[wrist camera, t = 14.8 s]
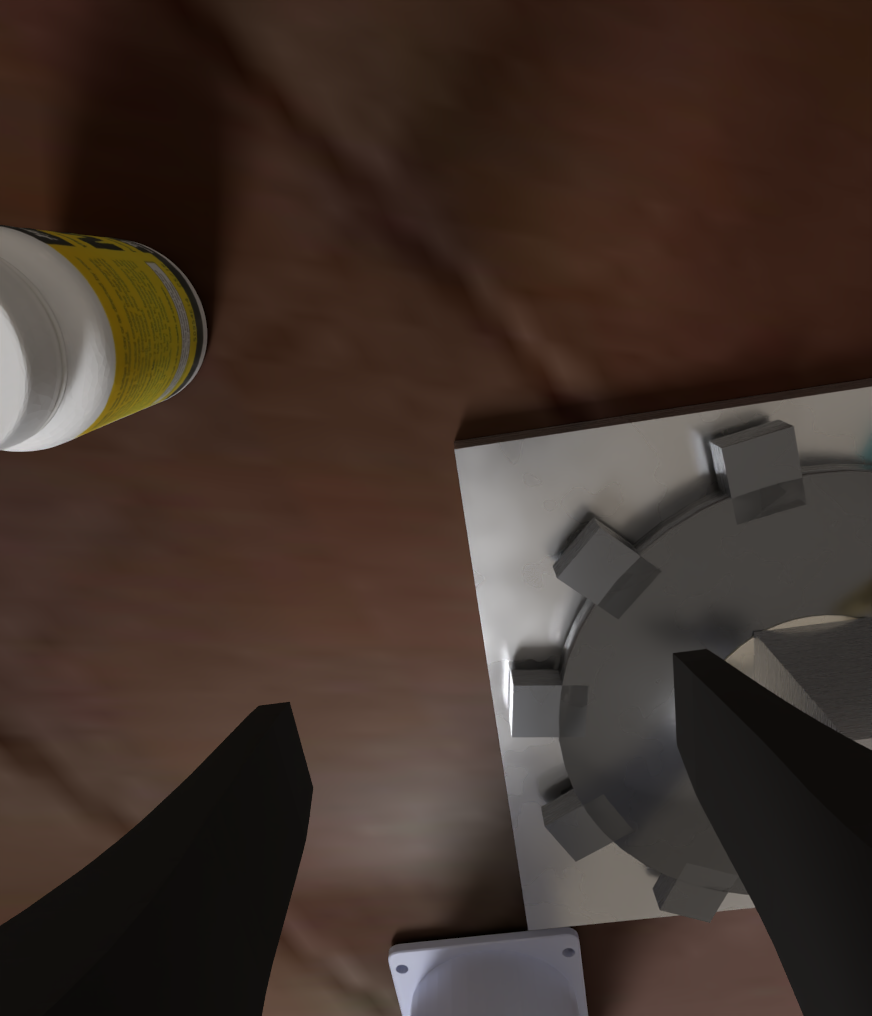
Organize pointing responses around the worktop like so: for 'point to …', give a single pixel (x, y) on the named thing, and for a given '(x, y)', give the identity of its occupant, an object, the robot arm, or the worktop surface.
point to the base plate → (554, 605)
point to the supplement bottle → (89, 334)
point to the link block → (822, 672)
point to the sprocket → (687, 646)
